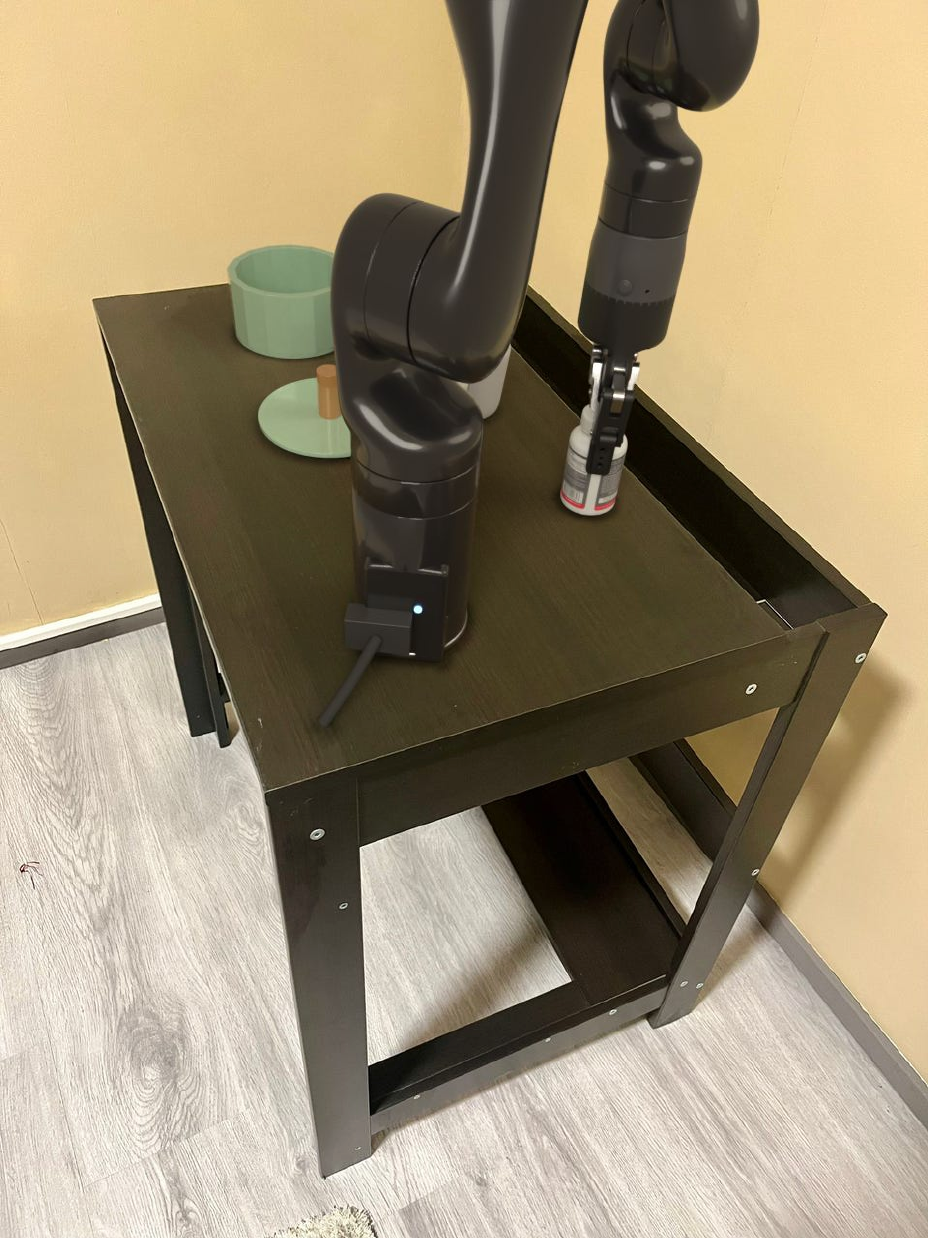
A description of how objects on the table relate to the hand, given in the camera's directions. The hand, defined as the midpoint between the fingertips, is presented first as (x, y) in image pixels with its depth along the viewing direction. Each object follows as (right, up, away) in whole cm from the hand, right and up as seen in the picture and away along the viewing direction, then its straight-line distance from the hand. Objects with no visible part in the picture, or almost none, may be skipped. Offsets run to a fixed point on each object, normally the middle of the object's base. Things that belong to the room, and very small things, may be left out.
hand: (596, 453), depth 85 cm
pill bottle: (0, -4, +4) cm, 6 cm away
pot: (-33, +19, +24) cm, 45 cm away
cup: (-12, +6, +14) cm, 19 cm away
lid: (-26, +6, +10) cm, 29 cm away
